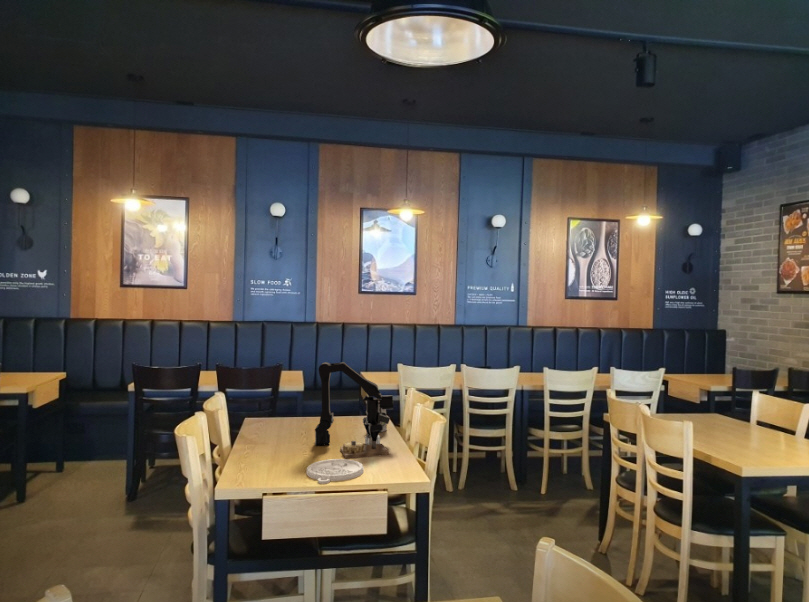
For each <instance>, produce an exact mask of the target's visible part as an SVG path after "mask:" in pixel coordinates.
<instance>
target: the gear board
mask: <svg viewBox="0 0 809 602" xmlns="http://www.w3.org/2000/svg"><path fill="white" fill-rule="evenodd" d="M340 452H341V453H343V454H342V456H344V459H354V458H366V457H378V456H379V455H381V456H390V451H389V449H387V448H386V447H385V446H384V444H383V443H380V444H376V441H372V445H366V444H365V443H363V442H358V441H356V440H351V441H350V442H346V443H343V445H342V446H340ZM379 457H380V456H379Z"/></svg>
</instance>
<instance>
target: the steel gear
mask: <svg viewBox="0 0 809 602" xmlns="http://www.w3.org/2000/svg"><path fill="white" fill-rule="evenodd" d="M376 444H381V435H379V434H378V437H377V441H376ZM364 445H372V438H371V435H368V434H366V435H365V436H364Z"/></svg>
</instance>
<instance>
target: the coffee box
mask: <svg viewBox="0 0 809 602" xmlns="http://www.w3.org/2000/svg"><path fill="white" fill-rule="evenodd" d="M378 411H379V412H380V414H381V413H382V412H384V413H386V416H388V415H387V409H382V408H381V407H380V401H378ZM380 424H381V425H382V426H383V430H382V431H381V432H380V433H383V432H385V431H387V427H388V426H387V425H388V424H386V423H384V422H380Z"/></svg>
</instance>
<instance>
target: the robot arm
mask: <svg viewBox="0 0 809 602" xmlns="http://www.w3.org/2000/svg"><path fill="white" fill-rule="evenodd" d="M337 372H342V373H343V374H345V376H347V377H348V378H350V379H351V380H352V381H354V382H355V383H356V384H357V385H359V386H360V387H361V388H362V390H363V391H364V392H365V394H366V395H365V396H364V397H363V398H362V401H364V402H366V410H365V414H366V416H364V417H363V419H362V423H363V426H364V429H365V431H366V433H367V434H366V435H371V438H372V441H377V437H378V435H379V433H382V432H381V431H382V430H383V426H382V425H381V424H380V422H384V423H386V424H387V425H389V422H390V420H391V417H390V416H388V415H387V412H386V413H384V412H382V413H381V414H380V412H379V411H378V401H380V407H381V408H382V409H386V410H394V399H393V398H394V397H393V394H391V395H382V393H381V391H380V390H379V386H378V384H376V383H375V382H373V381H371V380H369V379H367V378H365V377H363V376H362V375H360V374H359V373H358V372H357V371H356V370H354V369H353V368H352V367H350V366H349V365H348V364H347V363H346V362H344V361H342V362H333V363H332V362H331V363H330V362H326V361H325V362H322V363H321V364H320V365H319V367H318V376H319V379H320V382H321V387H320V388H321V413H320V418H319V423H318V424H317V425H316V427H315V429H314V438H315V440H314V444H315V446H316V447H320V446H330V444H331V434H330V431H329V429H330V428H331V427H332V424H334V422H335V421H334V415H335V414H334V412H331V403H330V379H331V374H332V373H337ZM386 415H387V416H386Z"/></svg>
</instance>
